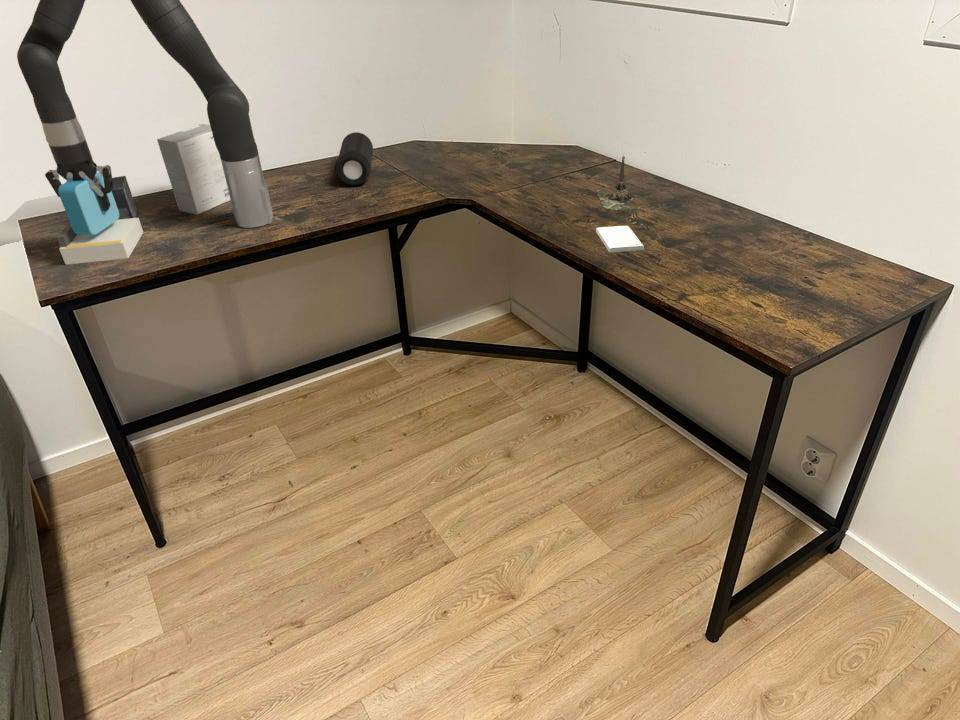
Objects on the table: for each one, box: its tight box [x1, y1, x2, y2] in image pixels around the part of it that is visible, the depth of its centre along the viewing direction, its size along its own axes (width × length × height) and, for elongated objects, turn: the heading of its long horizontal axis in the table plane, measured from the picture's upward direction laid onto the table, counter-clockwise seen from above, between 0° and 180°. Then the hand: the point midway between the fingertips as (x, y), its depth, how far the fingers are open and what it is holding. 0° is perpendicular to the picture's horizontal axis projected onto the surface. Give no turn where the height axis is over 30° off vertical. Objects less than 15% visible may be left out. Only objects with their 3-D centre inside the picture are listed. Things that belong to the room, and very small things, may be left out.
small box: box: [112, 175, 139, 220], centre depth 177 cm, size 11×6×10 cm, turn 21°
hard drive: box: [595, 225, 645, 253], centre depth 160 cm, size 2×8×12 cm
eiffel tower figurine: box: [595, 155, 642, 211], centre depth 178 cm, size 15×10×13 cm
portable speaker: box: [335, 131, 374, 186], centre depth 204 cm, size 26×10×10 cm, turn 5°
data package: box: [58, 171, 119, 235], centre depth 159 cm, size 12×4×12 cm, turn 173°
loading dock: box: [56, 217, 144, 265], centre depth 164 cm, size 14×16×6 cm
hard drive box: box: [156, 123, 231, 216], centre depth 183 cm, size 16×8×20 cm, turn 150°
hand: (93, 211), depth 160 cm, fingers closed on data package, 5 cm apart
